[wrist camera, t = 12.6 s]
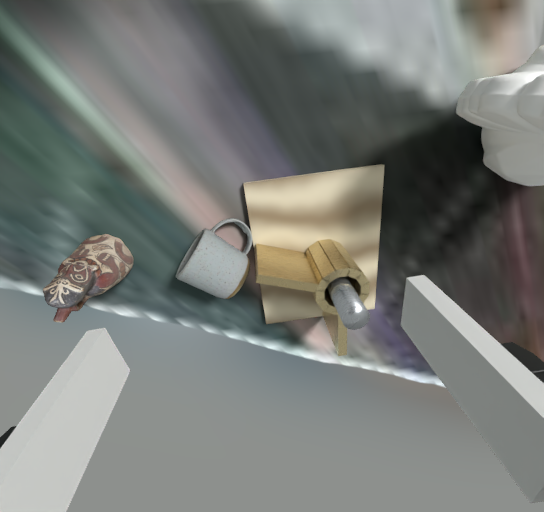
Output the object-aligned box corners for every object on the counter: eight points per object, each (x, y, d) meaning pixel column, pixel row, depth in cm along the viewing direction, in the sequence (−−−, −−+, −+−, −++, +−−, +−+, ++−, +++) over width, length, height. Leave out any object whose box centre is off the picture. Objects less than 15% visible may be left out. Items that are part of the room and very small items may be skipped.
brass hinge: (253, 243, 39) (254, 274, 31) (346, 230, 39) (371, 258, 31) (266, 323, 46) (270, 365, 38) (345, 312, 46) (365, 351, 38)
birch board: (243, 182, 36) (243, 184, 35) (381, 164, 36) (384, 165, 35) (266, 320, 47) (266, 324, 46) (372, 305, 47) (374, 308, 46)
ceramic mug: (227, 284, 43) (224, 314, 36) (181, 260, 40) (168, 286, 34) (265, 233, 40) (269, 255, 33) (217, 203, 37) (211, 220, 30)
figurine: (138, 244, 39) (95, 289, 28) (129, 283, 42) (87, 338, 31) (85, 227, 37) (18, 269, 26) (79, 268, 40) (17, 322, 29)
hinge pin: (314, 252, 40) (342, 309, 28) (333, 249, 40) (370, 305, 28) (315, 269, 42) (342, 331, 29) (334, 266, 42) (369, 327, 29)
